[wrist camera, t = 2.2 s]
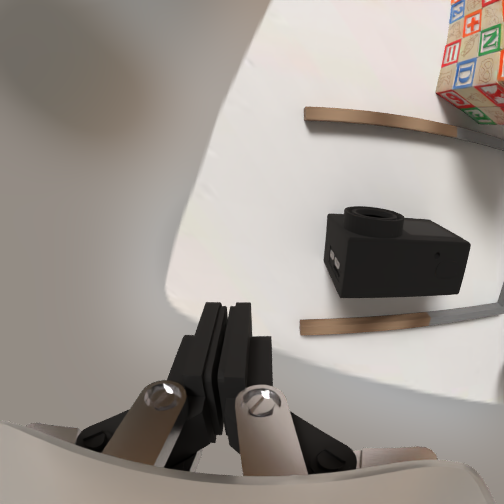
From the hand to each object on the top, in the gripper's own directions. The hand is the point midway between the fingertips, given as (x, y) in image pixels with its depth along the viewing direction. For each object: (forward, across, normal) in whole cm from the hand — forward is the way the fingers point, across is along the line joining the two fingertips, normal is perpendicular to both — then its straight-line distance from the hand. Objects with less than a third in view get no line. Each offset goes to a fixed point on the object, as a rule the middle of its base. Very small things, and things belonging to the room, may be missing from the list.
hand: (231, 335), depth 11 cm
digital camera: (+15, -12, 0) cm, 19 cm away
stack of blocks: (+15, -23, -22) cm, 35 cm away
